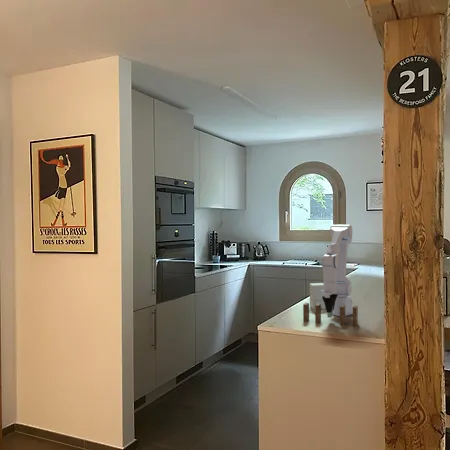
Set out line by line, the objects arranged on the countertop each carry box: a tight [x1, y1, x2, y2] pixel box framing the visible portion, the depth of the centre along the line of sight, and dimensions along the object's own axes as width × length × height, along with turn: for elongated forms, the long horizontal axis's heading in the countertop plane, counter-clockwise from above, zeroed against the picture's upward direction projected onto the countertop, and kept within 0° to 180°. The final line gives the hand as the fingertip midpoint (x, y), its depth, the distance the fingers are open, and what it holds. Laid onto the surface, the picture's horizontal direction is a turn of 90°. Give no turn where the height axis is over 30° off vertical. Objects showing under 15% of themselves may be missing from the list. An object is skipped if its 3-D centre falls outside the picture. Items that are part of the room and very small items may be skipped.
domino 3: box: [326, 307, 334, 318], centre depth 211 cm, size 2×5×8 cm, turn 157°
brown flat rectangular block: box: [352, 305, 359, 327], centre depth 207 cm, size 2×5×8 cm, turn 157°
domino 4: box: [339, 305, 346, 326], centre depth 209 cm, size 2×5×8 cm, turn 157°
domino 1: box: [302, 302, 310, 323], centre depth 216 cm, size 2×5×8 cm, turn 157°
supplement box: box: [309, 282, 326, 310], centre depth 245 cm, size 7×7×13 cm
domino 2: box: [314, 303, 322, 324], centre depth 214 cm, size 2×5×8 cm, turn 157°
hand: (330, 311), depth 211 cm, fingers closed on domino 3, 5 cm apart
